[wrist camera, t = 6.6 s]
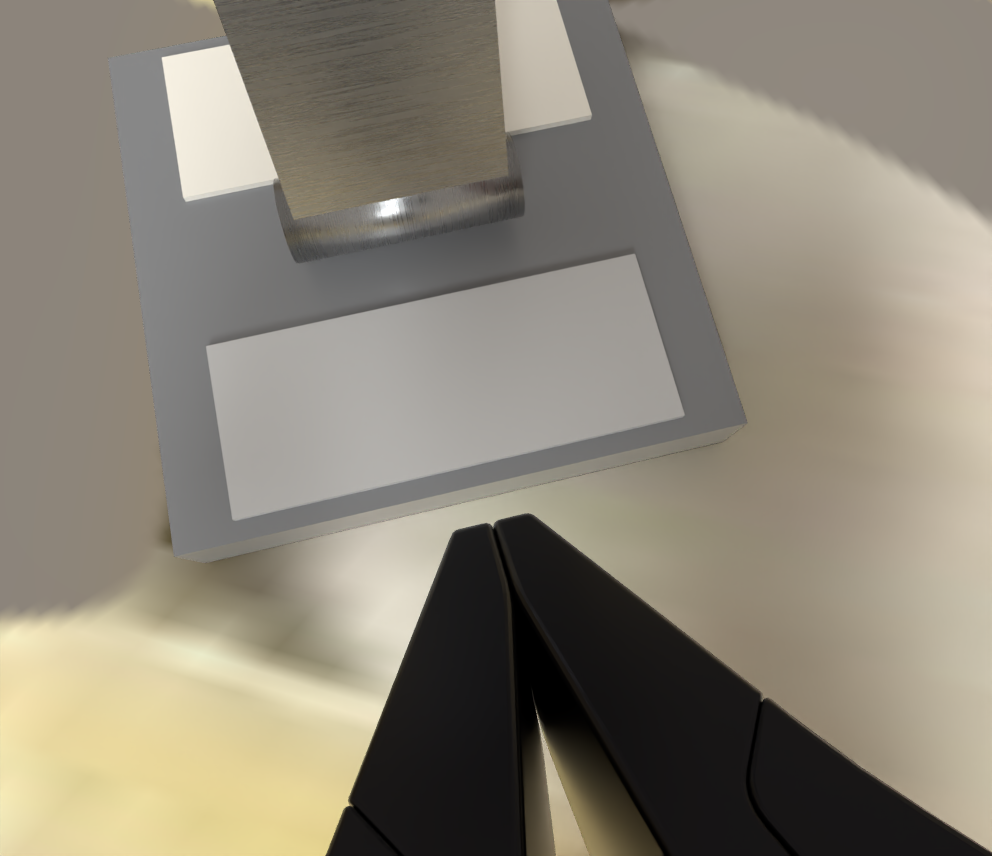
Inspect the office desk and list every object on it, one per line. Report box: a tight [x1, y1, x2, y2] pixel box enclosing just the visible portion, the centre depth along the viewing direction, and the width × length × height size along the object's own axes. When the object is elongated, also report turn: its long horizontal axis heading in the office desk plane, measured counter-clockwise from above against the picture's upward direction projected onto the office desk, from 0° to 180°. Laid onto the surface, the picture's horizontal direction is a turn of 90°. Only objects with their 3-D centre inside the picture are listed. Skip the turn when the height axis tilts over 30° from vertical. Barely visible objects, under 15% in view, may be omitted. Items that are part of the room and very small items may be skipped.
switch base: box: [108, 0, 747, 563], centre depth 20 cm, size 14×14×2 cm
